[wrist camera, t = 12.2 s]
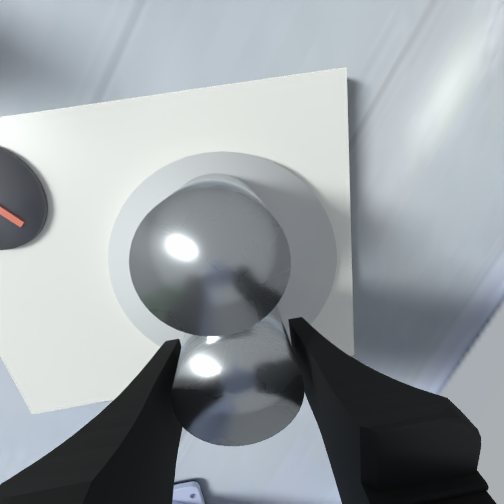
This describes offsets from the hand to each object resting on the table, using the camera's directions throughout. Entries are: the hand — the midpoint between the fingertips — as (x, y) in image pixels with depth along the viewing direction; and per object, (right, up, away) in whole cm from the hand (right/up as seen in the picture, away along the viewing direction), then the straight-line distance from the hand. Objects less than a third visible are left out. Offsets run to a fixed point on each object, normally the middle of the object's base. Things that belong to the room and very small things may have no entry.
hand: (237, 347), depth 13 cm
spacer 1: (-1, +6, 0) cm, 6 cm away
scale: (-4, +4, +3) cm, 6 cm away
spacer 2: (0, +1, +2) cm, 2 cm away
